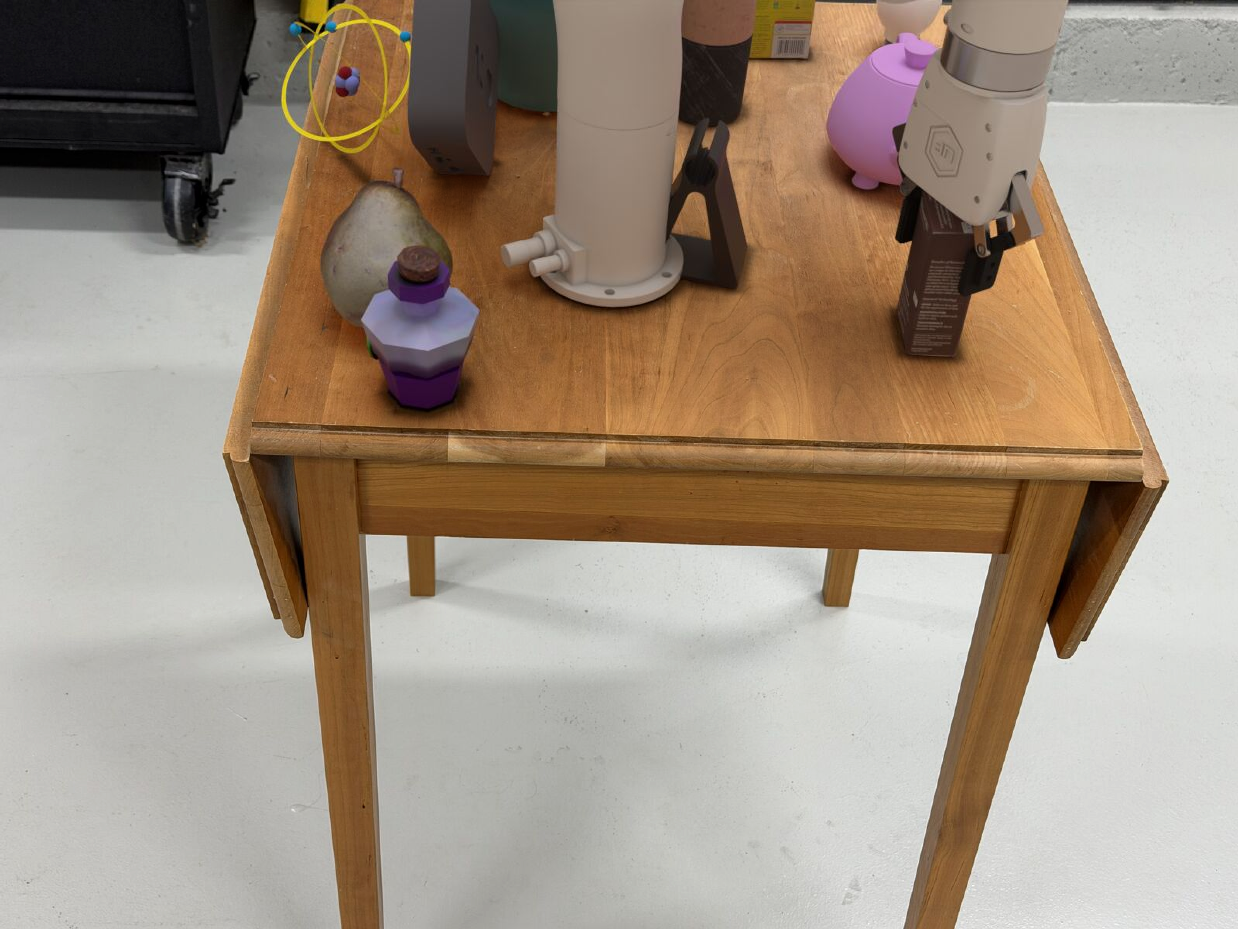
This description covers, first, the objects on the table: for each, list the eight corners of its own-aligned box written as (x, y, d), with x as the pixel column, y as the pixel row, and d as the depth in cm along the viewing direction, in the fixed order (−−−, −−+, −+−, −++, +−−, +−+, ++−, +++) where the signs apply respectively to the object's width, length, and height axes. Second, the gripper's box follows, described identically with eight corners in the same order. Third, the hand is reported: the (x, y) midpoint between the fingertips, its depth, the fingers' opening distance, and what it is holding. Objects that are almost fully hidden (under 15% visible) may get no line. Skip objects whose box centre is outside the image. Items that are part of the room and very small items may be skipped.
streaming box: (446, 28, 131) (501, 29, 131) (437, 180, 130) (492, 182, 130) (411, -36, 117) (473, -35, 116) (401, 135, 116) (462, 136, 115)
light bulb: (931, 73, 148) (954, -28, 140) (867, 67, 148) (886, -33, 141) (926, 43, 153) (947, -56, 145) (864, 38, 153) (882, -61, 145)
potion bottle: (362, 359, 109) (351, 226, 101) (472, 349, 111) (470, 218, 103) (372, 430, 103) (361, 295, 95) (489, 419, 104) (488, 285, 96)
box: (891, 311, 117) (921, 186, 109) (945, 314, 117) (979, 190, 109) (900, 356, 113) (932, 230, 104) (956, 360, 113) (992, 234, 104)
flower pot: (654, 60, 146) (667, -104, 135) (611, 145, 134) (621, -27, 122) (489, 32, 149) (487, -131, 137) (431, 113, 136) (424, -59, 125)
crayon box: (803, 46, 151) (820, -60, 143) (808, 59, 149) (825, -48, 141) (735, 45, 150) (748, -62, 142) (739, 58, 148) (752, -49, 140)
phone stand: (747, 250, 122) (768, 128, 114) (736, 289, 118) (758, 165, 110) (646, 231, 123) (660, 108, 115) (632, 269, 119) (646, 144, 111)
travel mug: (745, 130, 137) (770, -72, 124) (667, 125, 137) (684, -77, 123) (741, 91, 143) (765, -106, 129) (666, 87, 143) (682, -111, 129)
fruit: (458, 283, 116) (454, 156, 108) (448, 354, 110) (443, 225, 101) (334, 277, 116) (320, 150, 108) (316, 349, 109) (300, 218, 101)
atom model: (272, -40, 126) (251, 103, 134) (292, 22, 115) (267, 175, 122) (420, -11, 132) (391, 125, 139) (452, 51, 121) (419, 195, 128)
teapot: (984, 237, 126) (1019, 111, 117) (827, 225, 126) (850, 99, 117) (956, 123, 140) (985, 5, 132) (815, 113, 140) (835, -6, 132)
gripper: (877, 11, 102) (838, 219, 114) (1040, 123, 91) (978, 338, 103) (957, -7, 105) (911, 197, 117) (1124, 99, 94) (1054, 312, 106)
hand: (943, 262), depth 110 cm, fingers closed on box, 7 cm apart
